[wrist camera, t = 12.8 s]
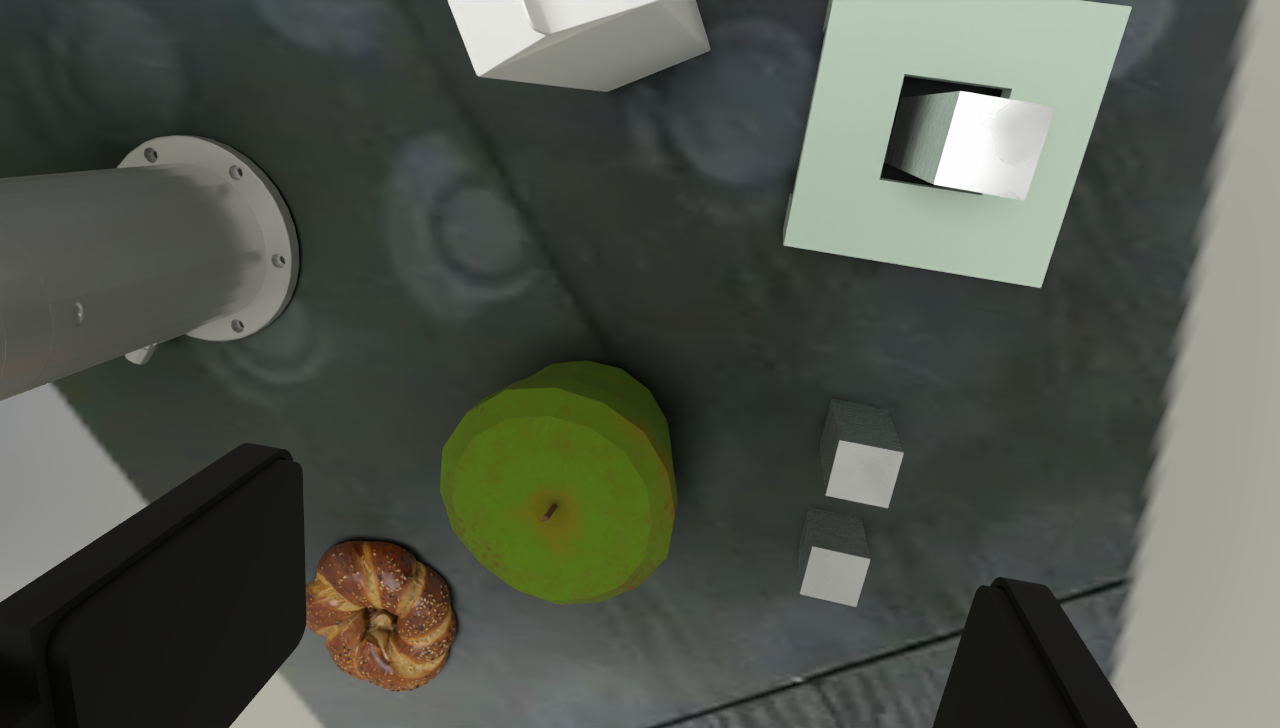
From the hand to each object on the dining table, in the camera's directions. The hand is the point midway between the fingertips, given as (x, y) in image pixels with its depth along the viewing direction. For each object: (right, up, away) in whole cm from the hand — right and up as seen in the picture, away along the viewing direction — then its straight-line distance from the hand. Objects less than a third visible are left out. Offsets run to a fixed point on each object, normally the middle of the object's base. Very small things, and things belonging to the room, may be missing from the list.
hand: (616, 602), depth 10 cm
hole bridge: (+15, +15, +28) cm, 35 cm away
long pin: (+15, +15, +28) cm, 35 cm away
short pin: (+12, -7, +36) cm, 39 cm away
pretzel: (-17, -14, +44) cm, 49 cm away
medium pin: (+13, -1, +34) cm, 36 cm away
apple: (-3, -1, +37) cm, 37 cm away
